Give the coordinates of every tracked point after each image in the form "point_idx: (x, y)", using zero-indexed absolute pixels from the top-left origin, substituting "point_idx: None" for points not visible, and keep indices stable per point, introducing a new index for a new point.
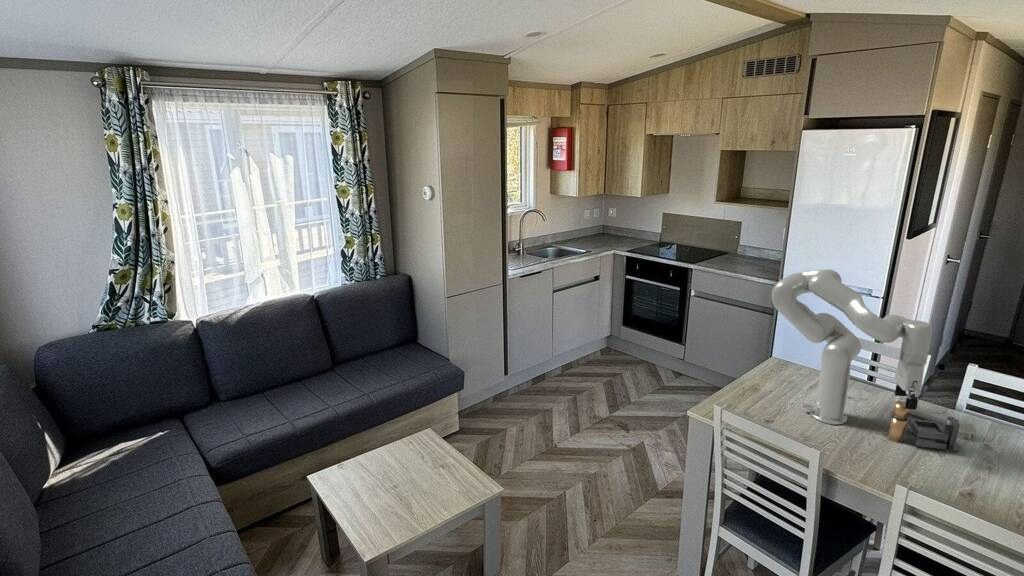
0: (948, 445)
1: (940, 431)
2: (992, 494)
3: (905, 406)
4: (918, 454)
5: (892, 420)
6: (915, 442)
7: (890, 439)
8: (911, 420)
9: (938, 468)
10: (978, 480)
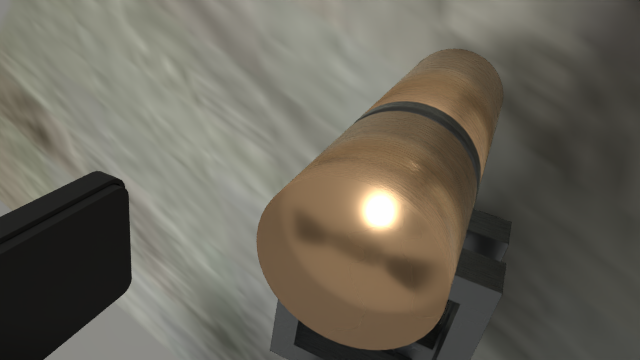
0: None
1: (332, 352)
2: None
3: (75, 181)
4: (280, 128)
5: (414, 92)
6: None
7: (435, 52)
8: (465, 287)
9: (175, 140)
10: (133, 234)
